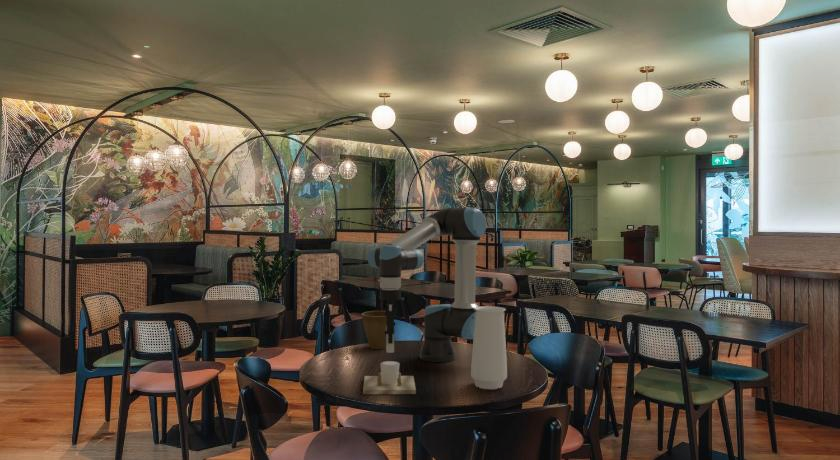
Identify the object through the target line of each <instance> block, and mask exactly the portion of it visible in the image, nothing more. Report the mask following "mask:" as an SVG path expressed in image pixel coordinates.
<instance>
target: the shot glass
mask: <svg viewBox="0 0 840 460" xmlns="http://www.w3.org/2000/svg"><path fill="white" fill-rule="evenodd" d="M380 373H381V377H382V383H383V384H387V385H393V384H397V378H398V375H399V373H400V362H398V361H393V360H386V361H382V362H380Z"/></svg>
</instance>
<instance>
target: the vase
mask: <svg viewBox="0 0 840 460" xmlns="http://www.w3.org/2000/svg"><path fill="white" fill-rule="evenodd" d="M474 310H476V318H475V328H474V338H473V339H472V353H471V364H470V365H471V366H470V376H471V379H473V381H474V386H475V387H477V388H478V387H479V389H482V390H497V389H498V388H499V389H501V388H503V386H504V382H505V380H506V379H507V378H508V361H507V344H506V343H507V342H506V330H505V329H506V328H505V327H506V326H505V313H504V312H505V311H506V310H507V309H506V307H501V306H496V305H495V306H493V305H486V306H485V305H482V306H480V305H479V307H475V308H474Z"/></svg>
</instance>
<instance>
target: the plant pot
mask: <svg viewBox="0 0 840 460" xmlns="http://www.w3.org/2000/svg"><path fill="white" fill-rule="evenodd" d="M361 317H362V318H361V319H362V323H363V328H364V329H363V330H364V332H365V337H366V340H367V343H368V345H369V347H370V349H373V350H384V349H386V334H385V331H386V326H387V325H386V323H387V322H386V321H387V317H386V316H385V310H371V311H365V312H362V313H361Z"/></svg>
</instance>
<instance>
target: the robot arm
mask: <svg viewBox="0 0 840 460" xmlns="http://www.w3.org/2000/svg"><path fill="white" fill-rule="evenodd" d="M486 231H487V220H486V217H485V215H484V213H483V212H482V210H480V209H478V208H476V207H475V208H473V207H448V208H447V207H446V208H444V209H443V208H442V209H441V210H438V211H435V212H434V213H432V214H430V215H428V216H426V217H425V218H423V219H422V221H421V223H420V224H418V225H416V226H414V227H412V228H411V229H410V230H408V231H406V232H405V233H403V234H402V235H400V236H398V237H397V238H395V239H393V240H392V241H391V242H389V243H387V244H386V245H384V244H383V245H381V246H380V247H372V248H371V249H369V251H368V253H367V262H368V265H370V266H371V267H373V268H377V269H379V279H377V281H378V283H379V287H380V290H379V300H381V301H385V302H386V303H385V304H384V311H385V316H386V317H387V321H386V322H387V323H386V325H387V326H386V331H385V334H386V348H385V350H386V353H387V354H389V353H390V354H391V353H395V326H396V322H395V317H396V311H397V304H396V303H394V302H395V301H399V300H401V298H402V297H401V296H402V290H401V288H402V271H415V270H418V269H421V267H422V266H423V265H424V263H425V258H424V257H425V256H424V253H423V252H422V251H421V250H419V249H417V248H419V247H420V246H423V244H425V243H427V242H428V241H430V240H433V239H437V238H439V237H442V236H452V238H451V240H452V242H453V243H454V244H455V253H454V255H455V256H454V257H455V261H454V263H455V265H454V301H453V302H452V303H451V304H450V303H445V304H444V303H441V304H433V305H432V304H431V305H428V306H426V307H425V309H424V314H423V317H424V318H423V319H424V320H423V322H424V325H423V327H424V328H423V329H424V331H423V332H424V334H423V335H424V338H423V339H424V340H423V343H422V346H421V349H420V353H419V358H420V360H422V361H426V362H431V363H432V362H433V363H445V362H451V361H454V360H456V352H455V349H454V345H453V343H452V337H454V338H459V339H463V340H473V338H474V328H475V318H476V310H474V308H475V307H480V305H478V304H477V302H476V282H477V281H476V279H477V275H476V272H477V270H476V269H477V245H478V243H480V241H481V237H483V236H484V235H485V232H486Z"/></svg>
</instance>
